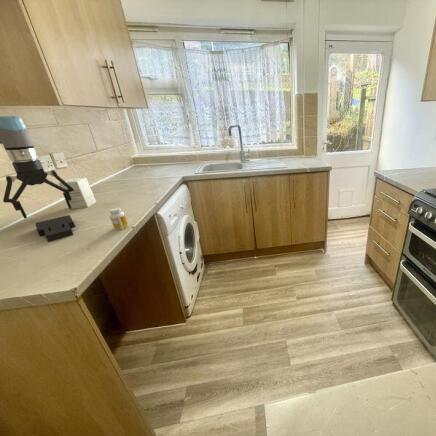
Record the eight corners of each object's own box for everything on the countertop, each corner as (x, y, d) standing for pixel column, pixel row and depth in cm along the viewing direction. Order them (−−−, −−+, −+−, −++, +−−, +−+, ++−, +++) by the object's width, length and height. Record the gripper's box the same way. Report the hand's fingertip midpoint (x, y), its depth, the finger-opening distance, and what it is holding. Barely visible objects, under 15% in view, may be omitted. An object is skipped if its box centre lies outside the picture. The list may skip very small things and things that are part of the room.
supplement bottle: (127, 225, 112) (120, 205, 108) (130, 228, 108) (123, 208, 104) (114, 229, 109) (106, 209, 105) (116, 233, 105) (108, 212, 101)
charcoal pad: (38, 228, 111) (35, 222, 110) (71, 220, 119) (69, 214, 118) (40, 239, 101) (37, 233, 100) (77, 230, 109) (74, 224, 108)
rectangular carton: (80, 203, 142) (68, 178, 135) (96, 202, 143) (86, 177, 137) (70, 209, 134) (57, 183, 127) (88, 207, 135) (76, 181, 129)
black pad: (46, 235, 105) (43, 228, 104) (70, 228, 110) (67, 222, 109) (48, 242, 99) (45, 236, 97) (73, 235, 104) (71, 229, 103)
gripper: (-27, 167, 81) (4, 224, 89) (69, 157, 97) (88, 206, 106) (-25, 164, 86) (4, 219, 94) (67, 155, 102) (84, 202, 111)
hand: (48, 212), depth 100 cm, fingers open, 13 cm apart
